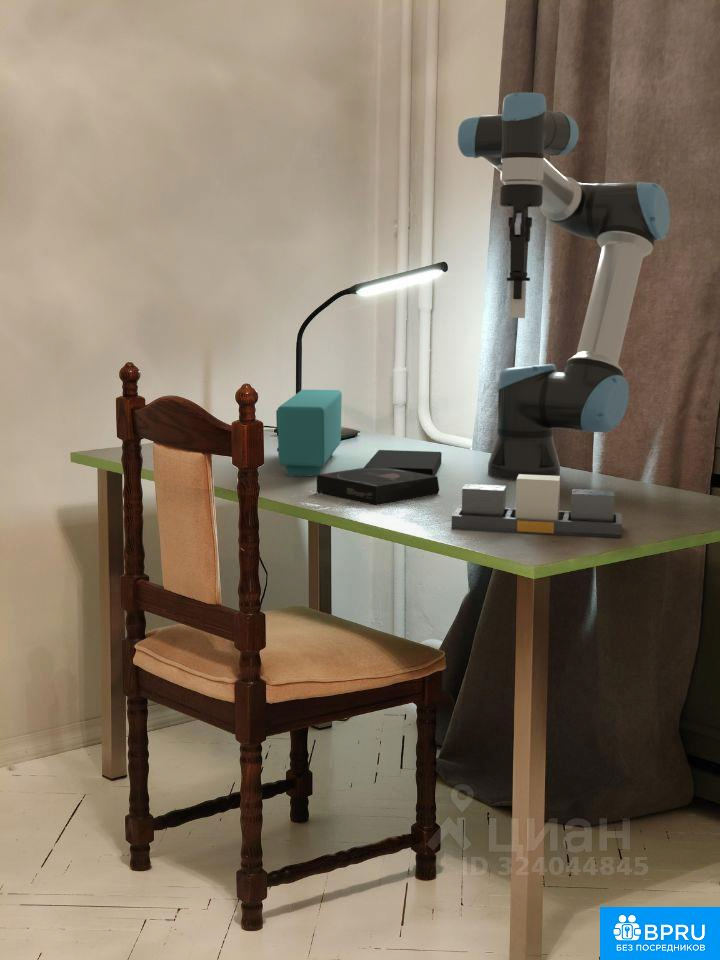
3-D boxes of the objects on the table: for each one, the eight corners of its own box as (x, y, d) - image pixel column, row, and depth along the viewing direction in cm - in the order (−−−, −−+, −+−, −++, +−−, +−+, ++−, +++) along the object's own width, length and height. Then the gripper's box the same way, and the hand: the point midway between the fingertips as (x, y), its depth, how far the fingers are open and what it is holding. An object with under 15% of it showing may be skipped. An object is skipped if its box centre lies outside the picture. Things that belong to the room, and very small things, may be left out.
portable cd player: (439, 496, 237) (439, 476, 236) (375, 507, 225) (376, 486, 225) (379, 484, 249) (380, 465, 248) (316, 495, 237) (316, 474, 237)
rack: (458, 518, 215) (458, 481, 214) (621, 526, 209) (623, 488, 208) (451, 529, 206) (452, 490, 205) (621, 538, 200) (623, 499, 199)
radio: (297, 453, 286) (297, 389, 283) (341, 454, 285) (342, 389, 282) (273, 478, 252) (273, 406, 250) (323, 479, 251) (323, 407, 249)
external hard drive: (441, 465, 273) (441, 451, 272) (432, 483, 250) (432, 469, 250) (377, 463, 275) (378, 449, 274) (363, 481, 252) (363, 466, 252)
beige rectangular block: (517, 520, 210) (518, 474, 209) (558, 522, 209) (560, 476, 208) (515, 525, 206) (516, 478, 205) (557, 527, 205) (558, 480, 203)
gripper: (503, 186, 225) (499, 315, 229) (496, 181, 212) (493, 318, 216) (544, 186, 223) (540, 316, 228) (540, 181, 211) (535, 319, 215)
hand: (517, 317), depth 222 cm, fingers closed
